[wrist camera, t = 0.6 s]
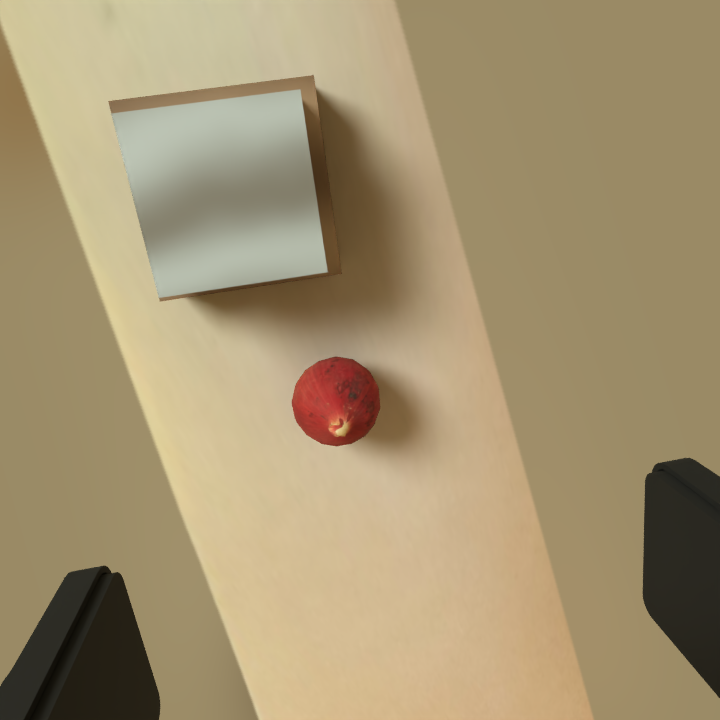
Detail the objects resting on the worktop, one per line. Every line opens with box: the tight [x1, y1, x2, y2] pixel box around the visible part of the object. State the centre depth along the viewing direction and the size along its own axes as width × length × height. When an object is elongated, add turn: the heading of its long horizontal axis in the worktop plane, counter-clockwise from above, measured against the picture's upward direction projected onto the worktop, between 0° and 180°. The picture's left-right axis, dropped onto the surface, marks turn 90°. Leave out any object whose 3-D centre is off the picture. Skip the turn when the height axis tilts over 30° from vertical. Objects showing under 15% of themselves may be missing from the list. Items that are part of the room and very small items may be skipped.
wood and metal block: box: [108, 75, 342, 301], centre depth 32 cm, size 11×11×8 cm
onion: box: [292, 357, 380, 446], centre depth 38 cm, size 6×6×8 cm
